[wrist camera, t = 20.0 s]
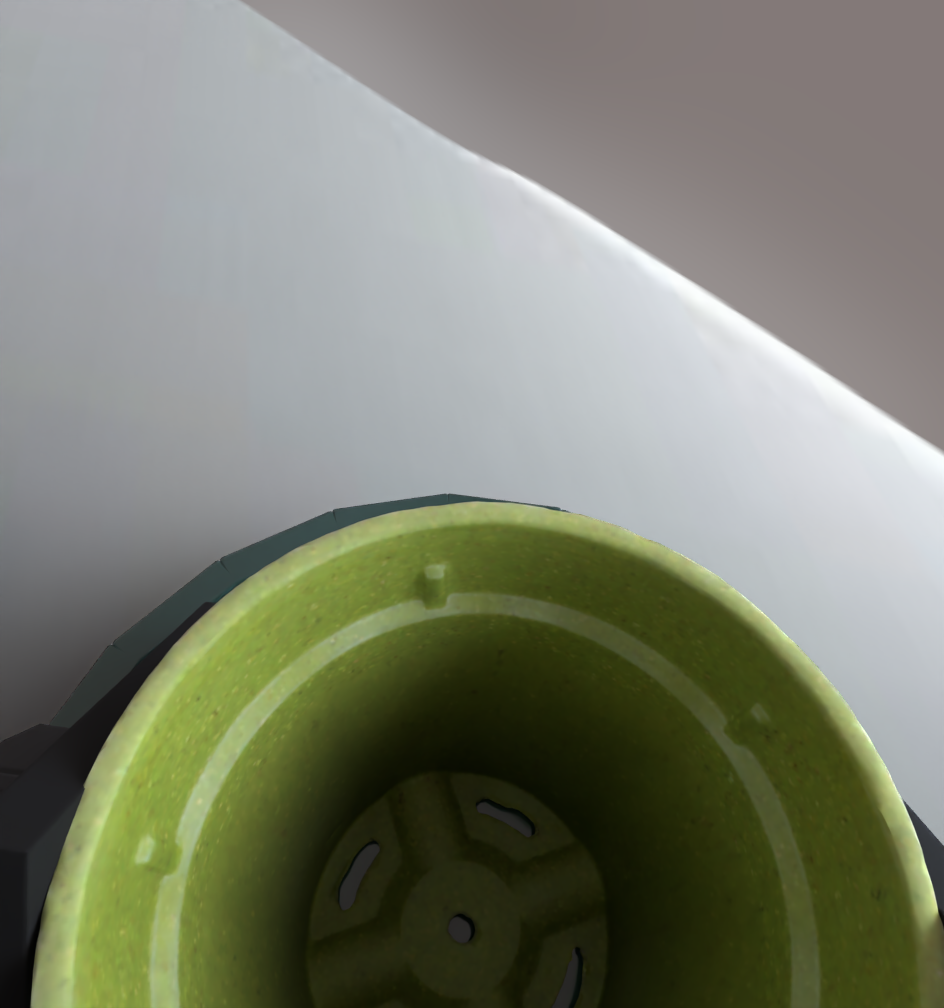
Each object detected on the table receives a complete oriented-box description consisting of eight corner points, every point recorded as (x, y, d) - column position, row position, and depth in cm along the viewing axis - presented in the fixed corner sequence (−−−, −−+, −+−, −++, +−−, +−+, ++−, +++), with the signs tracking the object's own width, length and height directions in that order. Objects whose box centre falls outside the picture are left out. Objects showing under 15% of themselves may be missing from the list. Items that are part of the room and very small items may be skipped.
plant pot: (108, 1088, 13) (-236, 1218, 6) (354, 636, 18) (327, 407, 11) (606, 1367, 12) (925, 1956, 5) (728, 799, 17) (979, 662, 10)
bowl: (-107, 957, 15) (-284, 950, 11) (434, 486, 22) (442, 380, 18) (486, 1852, 10) (540, 2384, 6) (938, 892, 17) (1094, 868, 13)
